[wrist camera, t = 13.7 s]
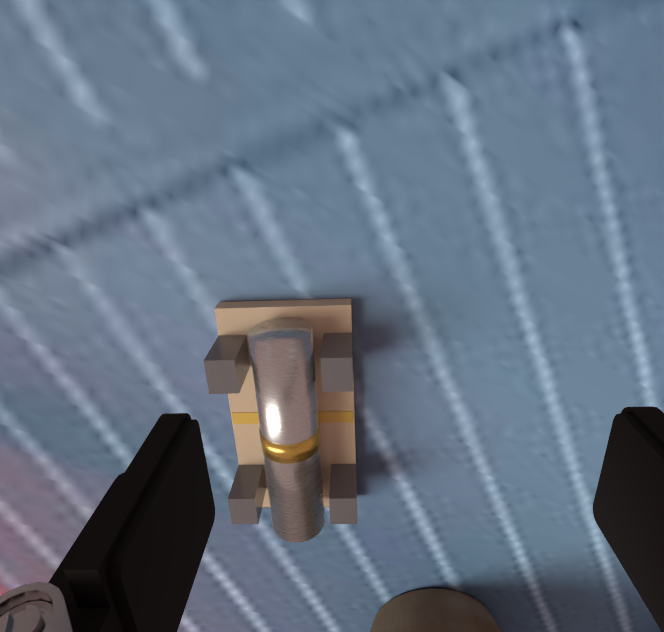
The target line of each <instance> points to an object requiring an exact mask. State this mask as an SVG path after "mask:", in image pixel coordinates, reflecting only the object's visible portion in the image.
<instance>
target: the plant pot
mask: <svg viewBox="0 0 664 632" xmlns="http://www.w3.org/2000/svg"><path fill="white" fill-rule="evenodd" d="M371 632H501V630H500V628H499V627H498V625H497V623H496V621H495V620H494V618H493V617H492V615H491V614H490V612H489V611H488V610H487V609H486V607H485V606H484V605H482V604H481V603H480V602H478V601H477V600H476V599H474V598H472V597H470V596H468V595H466V594H463V593H461V592H457V591H454V590H448V589H421V590H415V591H411V592H407V593H404V594H402V595H399V596H397V597H395V598H393V599H392V600H390V601H389V602H387V603H386V604H385V605H384V606H383V607H382V608H381V609H380V610H379V611H378V613H377V615H376V617H375V619H374V622H373V625H372V628H371Z"/></svg>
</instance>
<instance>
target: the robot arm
mask: <svg viewBox="0 0 664 632" xmlns="http://www.w3.org/2000/svg"><path fill="white" fill-rule="evenodd" d="M593 514H594V518H595V521H596V523H597V525H598V526H599V528H600V530H601V531H602V533H603V534H604V536H605V538H606V539H607V541H608V543H609V544H610V546H611V548H612V549H613V551H614V553H615V554H616V556H617V558H618V559H619V561H620V563H621V564H622V566H623V568H624V569H625V571H626V573H627V574H628V576H629V578H630V579H631V581H632V583H633V584H634V586H635V588H636V589H637V591H638V593H639V594H640V596H641V598H642V599H643V601H644V603H645V604H646V606H647V608H648V609H649V611H650V613H651V614H652V616H653V618H654V619H655V621H656V623H657V624H658V626H659V628H660V629H661V631H662V632H664V413H663V412H662V411H661V410H660V409H658V408H657V407H626V408H624V409H623V410H622V412H621V414H617V415H616V416H615V417H614V420H613V424H612V428H611V432H610V436H609V440H608V445H607V449H606V453H605V457H604V461H603V465H602V470H601V474H600V478H599V482H598V486H597V491H596V495H595V499H594V503H593ZM214 518H215V505H214V500H213V495H212V490H211V485H210V479H209V474H208V469H207V464H206V459H205V453H204V448H203V443H202V438H201V433H200V427H199V423H198V421H197V420H191V417H190V415H189V414H187V413H179V414H162V415H161V416H160V418H159V419H158V421H157V422H156V424H155V426H154V427H153V429H152V430H151V432H150V433H149V435H148V437H147V438H146V440H145V441H144V443H143V444H142V446H141V448H140V449H139V451H138V452H137V454H136V456H135V457H134V459H133V460H132V462H131V463H130V465H129V467H128V468H127V470H126V471H125V473H122V474H120V475H119V476H118V477H117V478H116V479H115V480H114V482H113V484H112V485H111V487H110V488H109V490H108V491H107V493H106V494H105V496H104V497H103V499H102V501H101V502H100V504H99V505H98V507H97V508H96V510H95V511H94V513H93V514H92V516H91V518H90V519H89V521H88V522H87V524H86V525H85V527H84V528H83V530H82V531H81V533H80V535H79V536H78V538H77V539H76V541H75V542H74V544H73V545H72V547H71V548H70V550H69V552H68V553H67V555H66V556H65V558H64V559H63V561H62V562H61V564H60V565H59V567H58V569H57V570H56V572H55V573H54V575H53V576H52V578H51V579H50V581H49V582H48V583H43V582H36V583H30V584H25V585H22V586H20V587H17V588H15V589H12V590H10V591H8V592H6V593H5V594H3V595H1V596H0V632H177V630H178V627H179V624H180V621H181V618H182V615H183V612H184V609H185V606H186V603H187V600H188V597H189V594H190V591H191V588H192V585H193V582H194V579H195V576H196V573H197V571H198V568H199V565H200V562H201V559H202V556H203V553H204V550H205V547H206V544H207V541H208V538H209V535H210V532H211V529H212V526H213V523H214Z"/></svg>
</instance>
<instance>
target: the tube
mask: <svg viewBox="0 0 664 632" xmlns="http://www.w3.org/2000/svg"><path fill="white" fill-rule="evenodd" d="M248 338H249V346H250V353H251V361H252V369H253V377H254V384H255V392H256V400H257V408H258V416H259V423H260V428H259V433H260V440H261V448H262V452H263V454H264V462H265V470H266V478H267V485H268V493H269V501H270V509H271V516H272V524H273V529H274V531H275V533H276V534H277V535H278V536H279V537H280V538H282V539H283V540H286V541H289V542H303V541H307V540H309V539H311V538H313V537H315V536H316V535H317V534H318V533H319V532H320V531H321V530H322V528H323V526H324V523H325V510H324V496H323V481H322V466H321V451H320V445H321V434H320V422H319V419H318V406H317V391H316V376H315V362H314V347H313V332H312V326H311V324H310V323H308V322H306V321H304V320H301V319H297V318H275V319H270V320H266V321H263V322H260V323H258V324H256V325H254V326H253V327H252V328H251V329H250V330H249V332H248Z"/></svg>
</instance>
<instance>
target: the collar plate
mask: <svg viewBox="0 0 664 632" xmlns="http://www.w3.org/2000/svg"><path fill="white" fill-rule="evenodd" d="M215 315H216V322H217V328H218V334H219V336H218V338H217V339H216V341H215V343H214V344H213V346H212V348H211V349H210V351H209V353H208V354H207V356H206V358H205V359H204V365H205V371H206V377H207V382H208V388H209V394H228V398H229V404H230V411H231V417H232V424H233V430H234V436H235V443H236V449H237V455H238V462H239V466H238V469H237V472H236V476H235V479H234V482H233V485H232V488H231V491H230V494H229V497H228V502H229V508H230V514H231V519H232V524H258V523H259V519H260V514H261V510H262V507H270V501H269V493H268V485H267V478H266V470H265V462H264V454H263V452H262V448H261V440H260V433H259V428H260V423H259V416H258V408H257V400H256V392H255V384H254V377H253V369H252V361H251V353H250V346H249V338H248V332H249V330H250V329H251V328H252V327H253V326H254V325H256V324H258V323H260V322H263V321H266V320H270V319H275V318H297V319H301V320H304V321H306V322H308V323H310V324H311V326H312V332H313V347H314V362H315V376H316V391H317V406H318V419H319V422H320V434H321V445H320V451H321V466H322V481H323V496H324V507H330V523H331V524H357V479H356V445H355V411H354V377H353V343H352V309H351V298H348V299H311V300H274V301H237V302H219V303H218V304H217V306H216V307H215Z"/></svg>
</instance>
